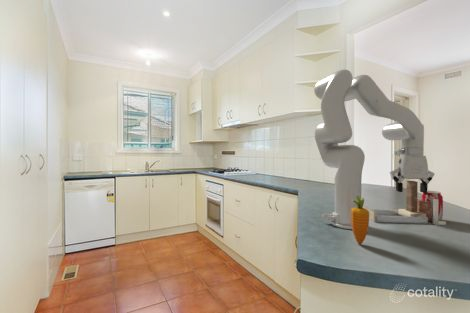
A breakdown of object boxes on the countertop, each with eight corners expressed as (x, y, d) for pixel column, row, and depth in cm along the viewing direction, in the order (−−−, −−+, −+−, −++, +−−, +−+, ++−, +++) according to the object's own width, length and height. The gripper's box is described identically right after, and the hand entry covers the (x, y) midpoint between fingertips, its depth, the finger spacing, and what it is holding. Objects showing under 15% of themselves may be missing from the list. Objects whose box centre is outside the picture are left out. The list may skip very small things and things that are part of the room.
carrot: (368, 249, 66) (369, 198, 66) (349, 245, 69) (350, 196, 69) (369, 243, 71) (369, 195, 71) (351, 240, 73) (351, 194, 73)
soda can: (447, 222, 93) (447, 193, 93) (428, 221, 94) (428, 192, 94) (434, 217, 100) (434, 190, 100) (417, 217, 101) (417, 190, 101)
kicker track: (374, 222, 93) (374, 212, 93) (360, 214, 105) (360, 205, 105) (427, 223, 91) (427, 213, 91) (408, 215, 103) (408, 206, 103)
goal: (434, 224, 90) (435, 199, 90) (410, 214, 104) (410, 193, 104) (446, 225, 89) (446, 199, 89) (420, 215, 104) (420, 193, 104)
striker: (410, 219, 94) (410, 182, 93) (398, 214, 102) (398, 180, 101) (430, 219, 93) (430, 182, 93) (416, 214, 101) (416, 180, 101)
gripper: (396, 151, 94) (395, 192, 94) (441, 152, 92) (440, 194, 92) (385, 152, 102) (385, 190, 102) (427, 152, 100) (426, 191, 100)
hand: (411, 192), depth 97 cm, fingers open, 9 cm apart
